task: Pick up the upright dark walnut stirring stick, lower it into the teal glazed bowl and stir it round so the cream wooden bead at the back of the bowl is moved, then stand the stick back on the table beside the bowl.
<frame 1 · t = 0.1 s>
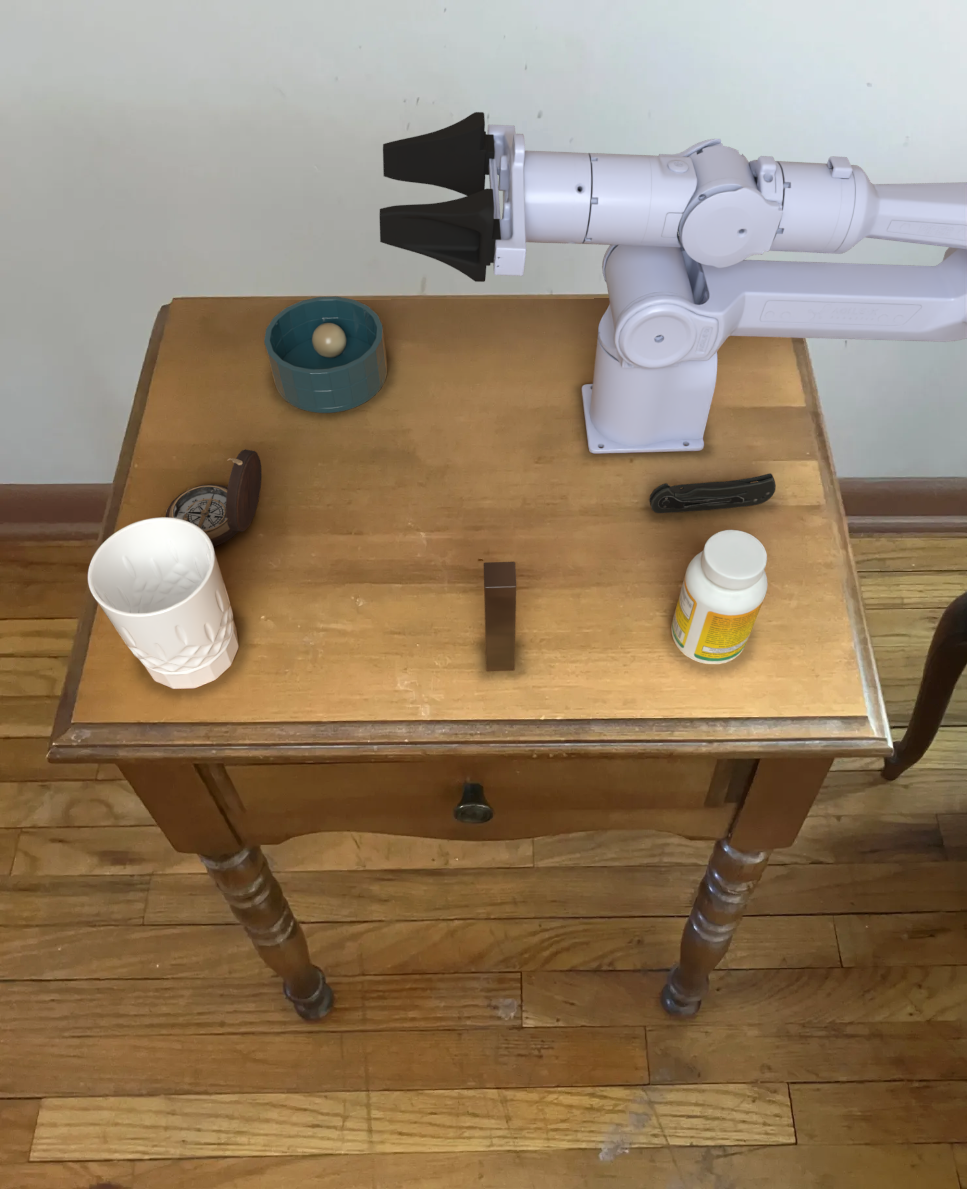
hand: (381, 191, 65), 22 cm above the table, tool horizontal, fingers open, 7 cm apart
supplement bottle: (707, 637, 70), on the table
compass: (213, 532, 76), on the table
stirring stick: (499, 659, 69), on the table
folding knife: (709, 509, 77), on the table
bead: (331, 353, 87), point 1 cm above the table, touching bowl
bowl: (331, 374, 86), on the table
white cup: (192, 651, 70), on the table
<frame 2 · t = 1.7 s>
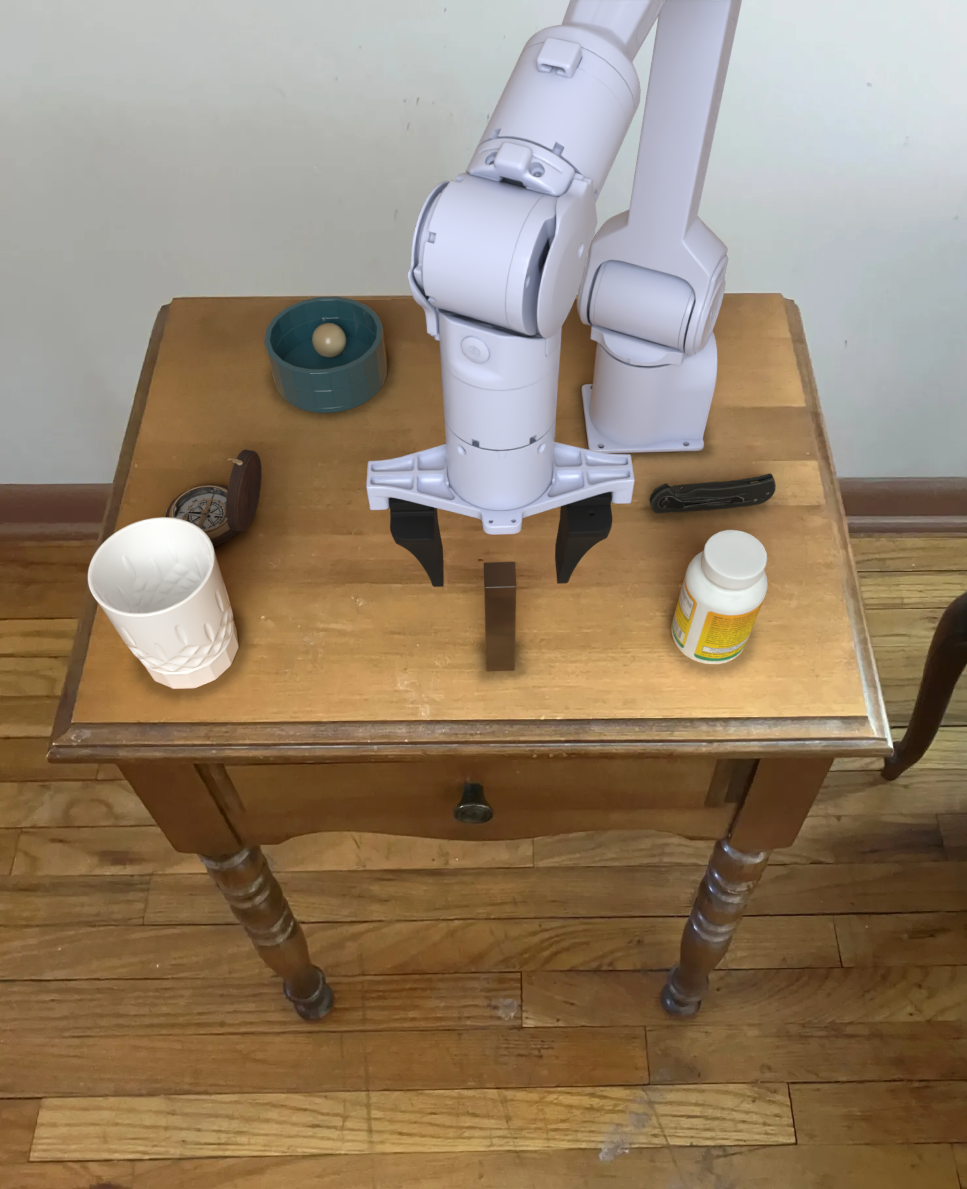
hand: (499, 572, 60), 10 cm above the table, tool pointing down, fingers open, 7 cm apart
nothing on the table moved.
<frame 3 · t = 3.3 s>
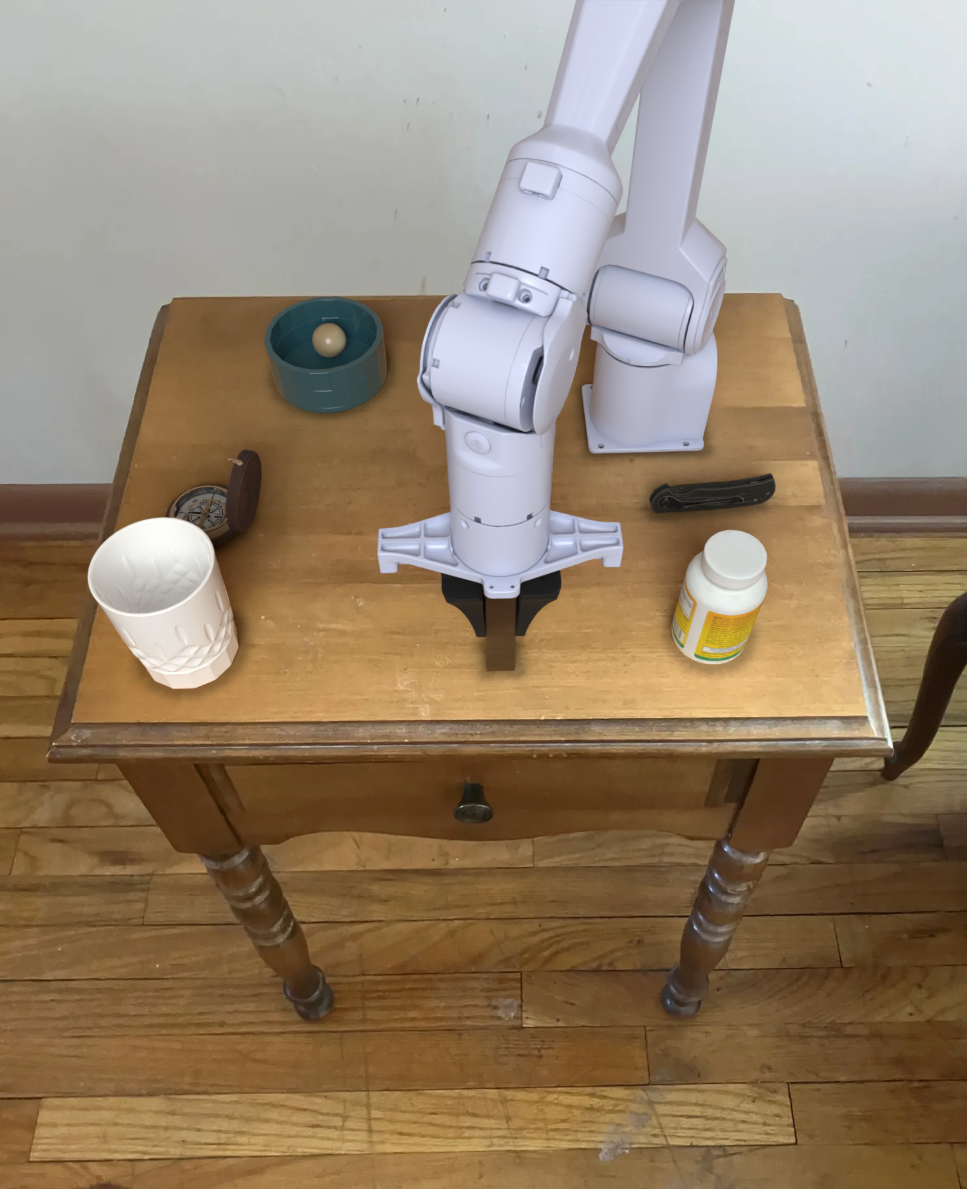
hand: (499, 624, 65), 4 cm above the table, tool pointing down, fingers closed on stirring stick, 2 cm apart
stirring stick: (500, 659, 69), on the table, touching gripper
everything else where it was.
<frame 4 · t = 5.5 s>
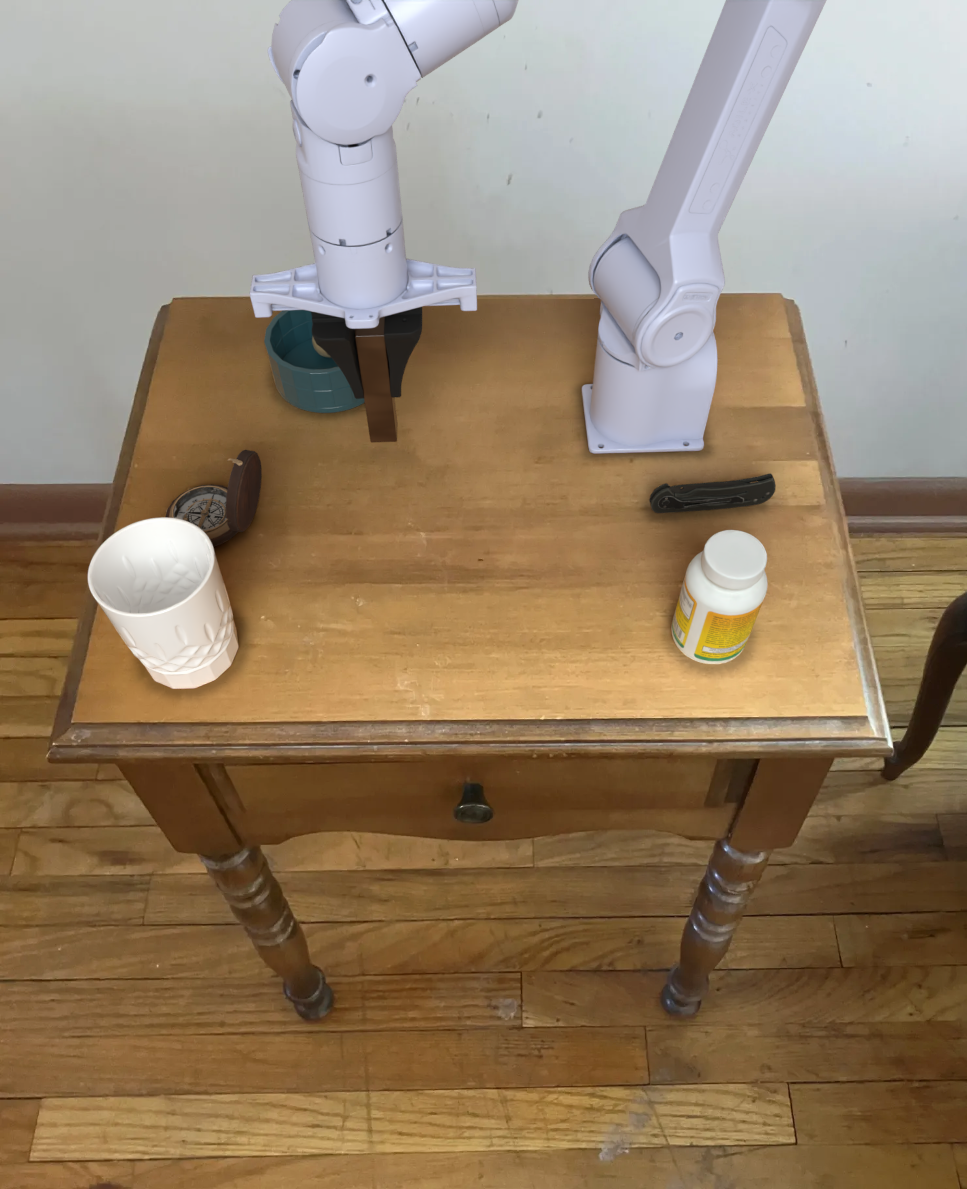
hand: (378, 388, 70), 10 cm above the table, tool pointing down, fingers closed on stirring stick
stirring stick: (384, 433, 73), point 6 cm above the table, touching gripper
everything else where it was.
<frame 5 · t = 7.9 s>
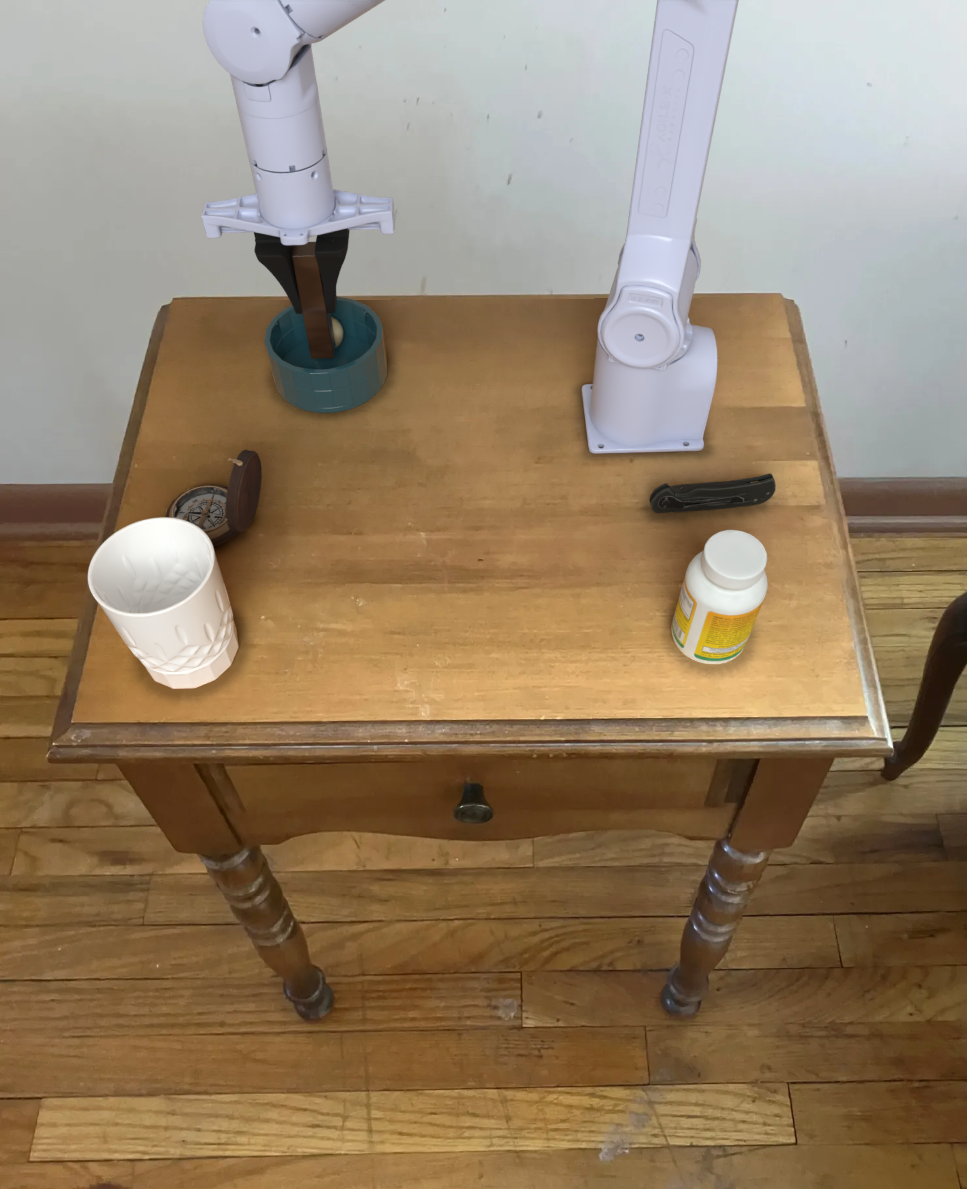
hand: (316, 306, 82), 7 cm above the table, tool pointing down, fingers closed on stirring stick, 2 cm apart
stirring stick: (323, 351, 85), point 2 cm above the table, touching gripper
bead: (325, 350, 87), point 1 cm above the table, tilted 36°, touching bowl
everything else where it was.
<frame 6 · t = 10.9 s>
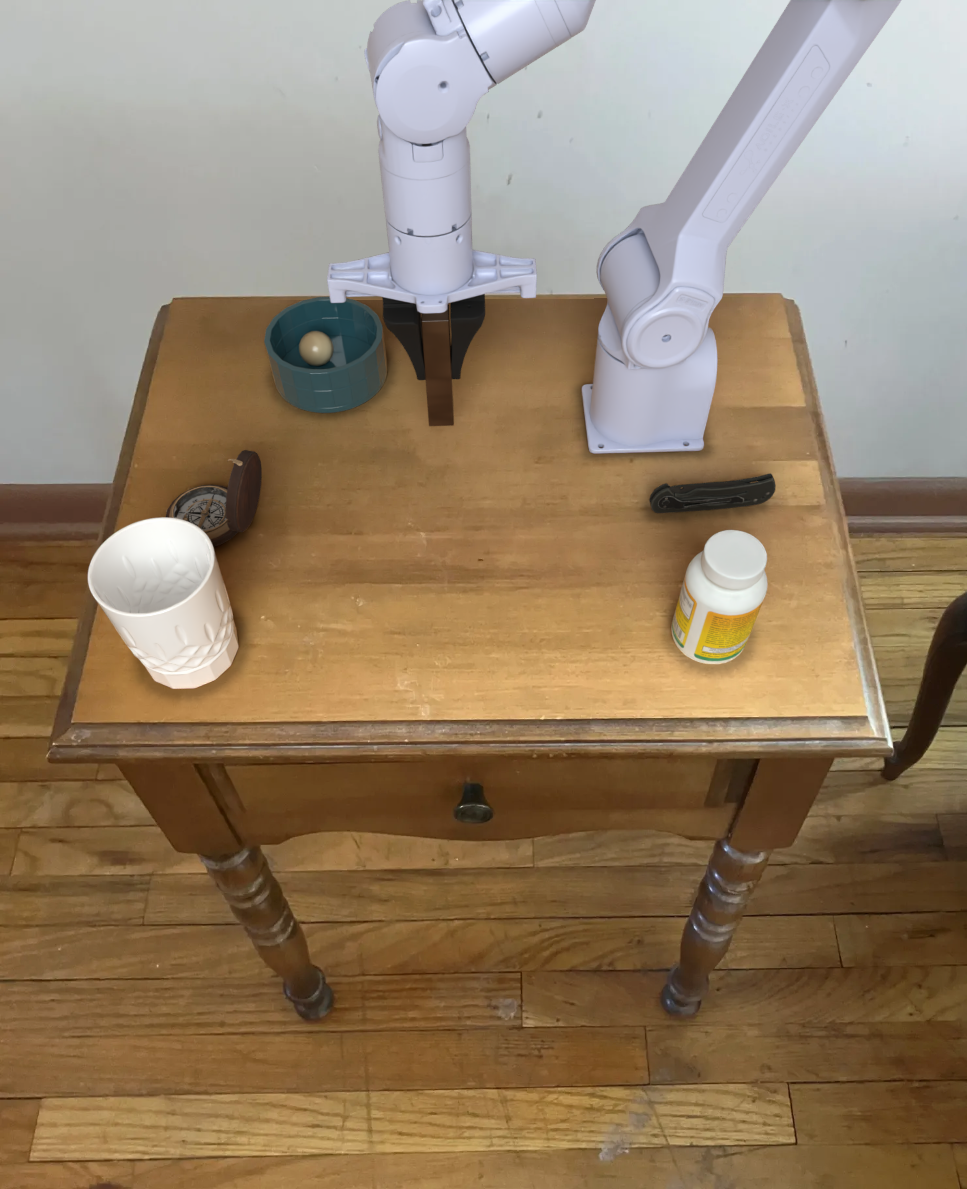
hand: (438, 371, 75), 8 cm above the table, tool pointing down, fingers closed on stirring stick
stirring stick: (441, 417, 78), point 3 cm above the table, touching gripper
bead: (324, 350, 86), point 1 cm above the table, tilted 47°, touching bowl
everything else where it was.
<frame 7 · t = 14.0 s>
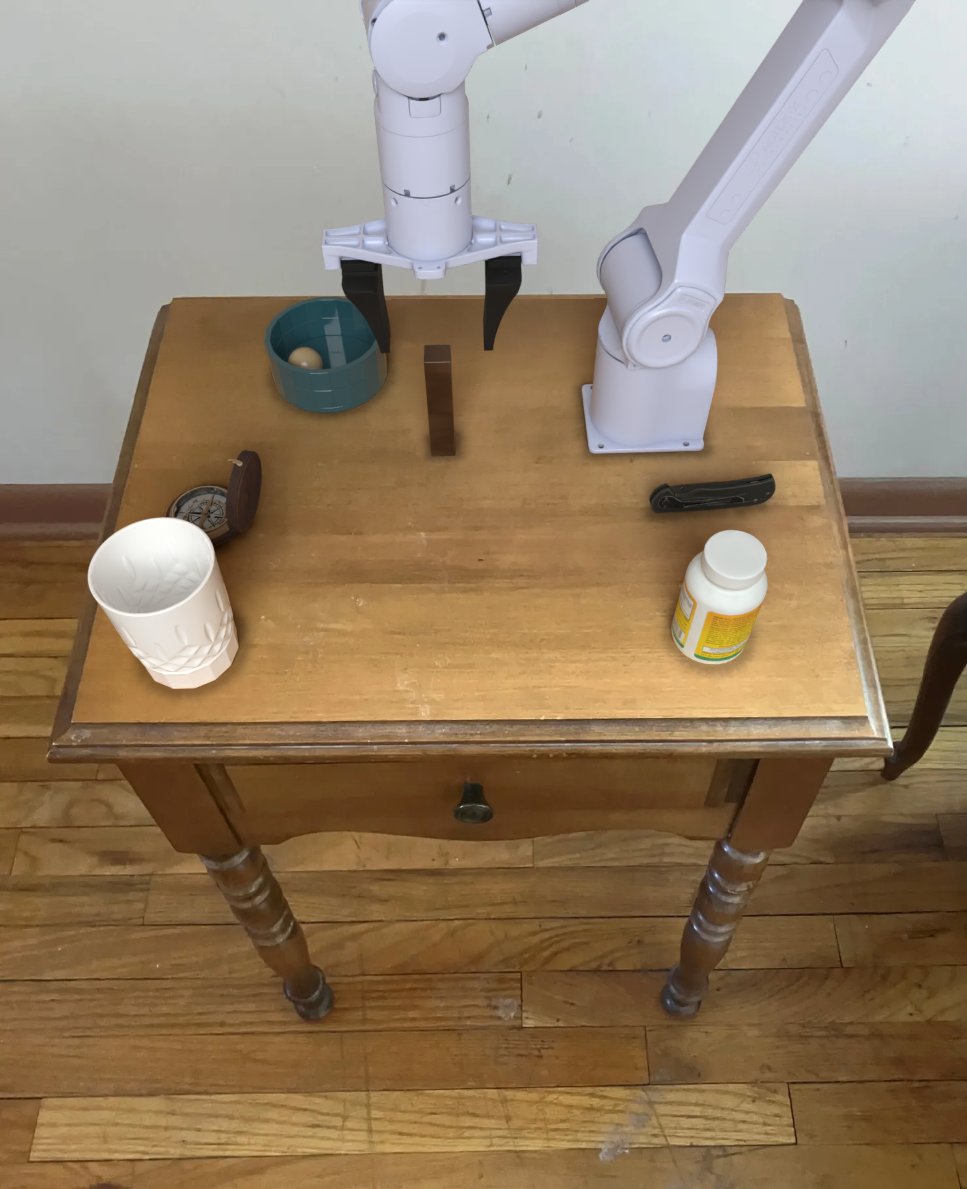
hand: (436, 343, 73), 10 cm above the table, tool pointing down, fingers open, 7 cm apart
stirring stick: (443, 447, 81), on the table
bead: (310, 347, 84), point 3 cm above the table, tilted 132°, touching bowl
everything else where it was.
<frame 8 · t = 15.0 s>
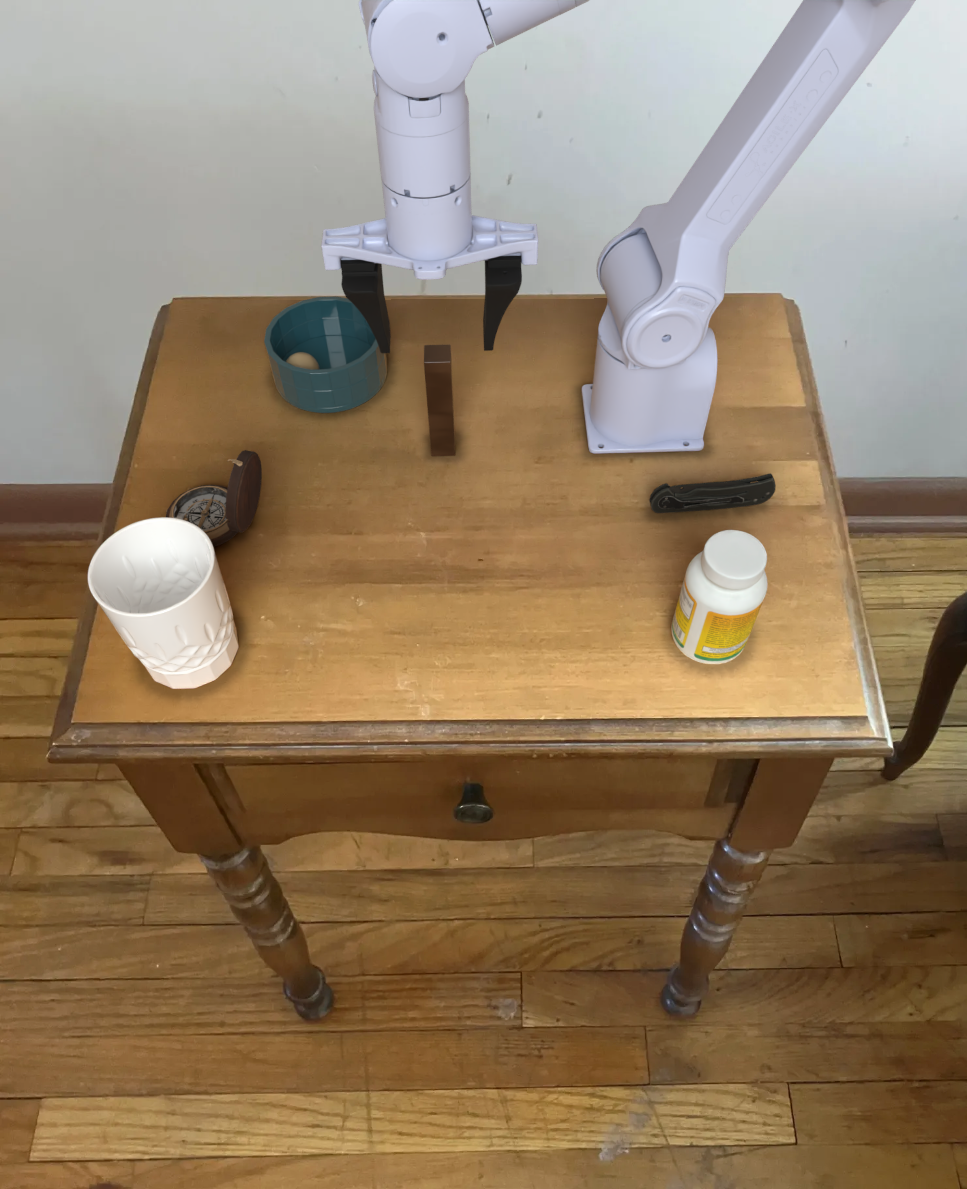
hand: (436, 343, 73), 10 cm above the table, tool pointing down, fingers open, 7 cm apart
bead: (303, 353, 83), point 3 cm above the table, tilted 159°, touching bowl
everything else where it was.
at the end: bead moved 4.9 cm from its start; bead inside the target area in the bowl (2.3 cm from its centre), point 3.5 cm above the bowl's base; stirring stick inside the target area (0.6 cm from its centre), on the table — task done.
